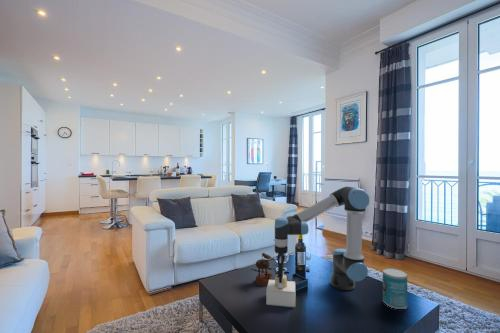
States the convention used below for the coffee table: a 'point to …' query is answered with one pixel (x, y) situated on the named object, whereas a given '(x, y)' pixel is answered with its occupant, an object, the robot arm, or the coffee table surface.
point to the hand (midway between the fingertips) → (281, 284)
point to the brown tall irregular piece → (263, 264)
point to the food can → (395, 288)
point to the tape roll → (283, 281)
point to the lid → (289, 288)
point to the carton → (280, 298)
